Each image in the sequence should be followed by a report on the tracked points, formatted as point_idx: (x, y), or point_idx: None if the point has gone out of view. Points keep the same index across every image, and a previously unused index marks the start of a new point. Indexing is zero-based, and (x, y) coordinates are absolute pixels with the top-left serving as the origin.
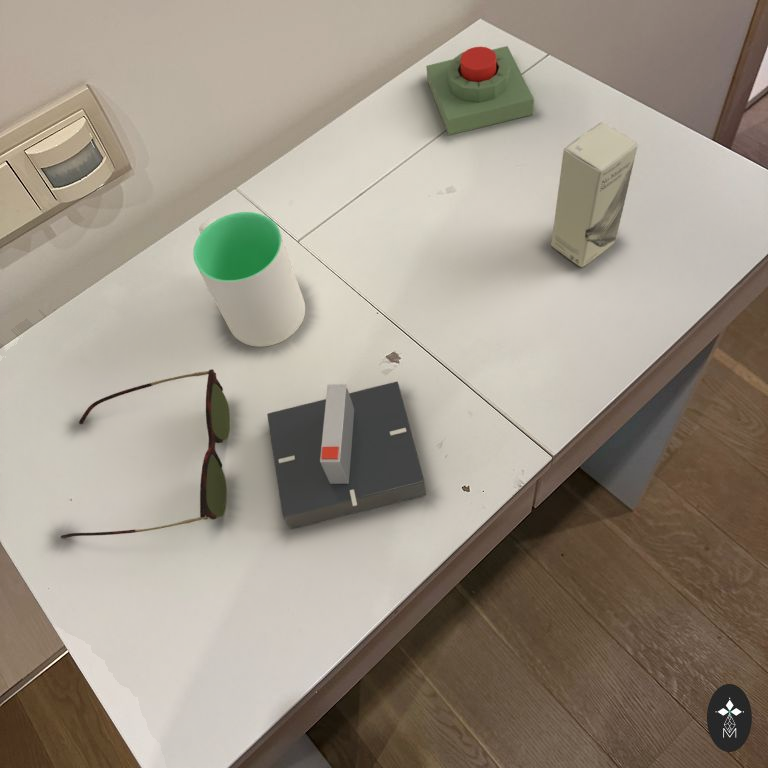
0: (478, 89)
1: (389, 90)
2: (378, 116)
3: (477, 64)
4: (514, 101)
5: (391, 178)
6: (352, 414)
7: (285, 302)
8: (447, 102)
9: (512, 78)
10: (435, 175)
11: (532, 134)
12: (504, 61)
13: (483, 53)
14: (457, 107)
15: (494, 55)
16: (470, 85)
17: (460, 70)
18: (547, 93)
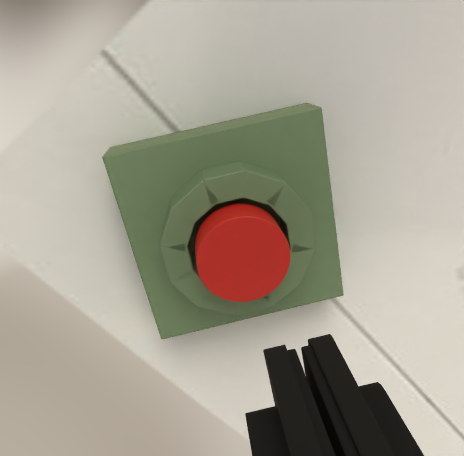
0: (314, 248)
1: (181, 380)
2: (252, 391)
3: (269, 263)
4: (319, 155)
5: (408, 361)
6: None
7: None
8: (290, 296)
9: (237, 153)
10: (423, 296)
11: (367, 110)
12: (222, 183)
13: (228, 248)
14: (310, 277)
15: (242, 220)
16: (298, 266)
17: None
18: (239, 57)
